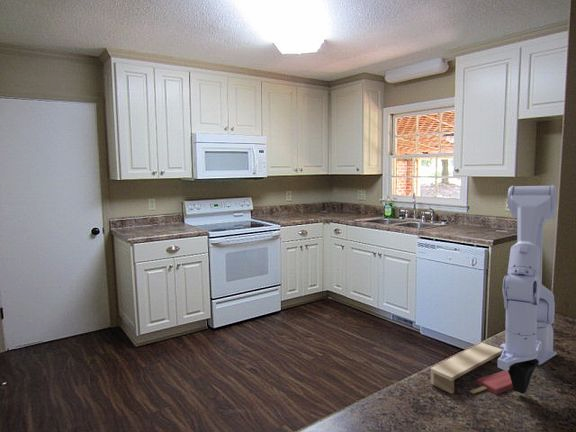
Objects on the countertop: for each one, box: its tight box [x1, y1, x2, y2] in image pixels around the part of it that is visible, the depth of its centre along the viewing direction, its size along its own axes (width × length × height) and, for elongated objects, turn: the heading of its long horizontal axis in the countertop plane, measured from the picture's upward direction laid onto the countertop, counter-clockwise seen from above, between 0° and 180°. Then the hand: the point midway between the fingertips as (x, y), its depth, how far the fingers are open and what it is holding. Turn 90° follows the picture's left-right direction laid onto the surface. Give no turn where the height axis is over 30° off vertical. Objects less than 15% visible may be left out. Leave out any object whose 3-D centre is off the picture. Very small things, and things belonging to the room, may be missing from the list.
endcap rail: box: [430, 342, 503, 395], centre depth 98 cm, size 21×6×4 cm, turn 124°
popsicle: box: [469, 370, 514, 395], centre depth 93 cm, size 5×2×15 cm
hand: (519, 390), depth 88 cm, fingers closed
